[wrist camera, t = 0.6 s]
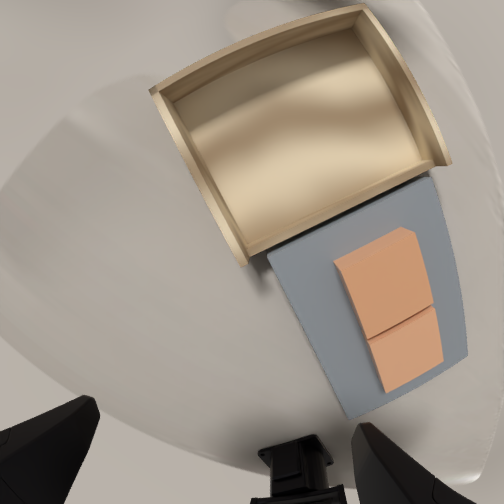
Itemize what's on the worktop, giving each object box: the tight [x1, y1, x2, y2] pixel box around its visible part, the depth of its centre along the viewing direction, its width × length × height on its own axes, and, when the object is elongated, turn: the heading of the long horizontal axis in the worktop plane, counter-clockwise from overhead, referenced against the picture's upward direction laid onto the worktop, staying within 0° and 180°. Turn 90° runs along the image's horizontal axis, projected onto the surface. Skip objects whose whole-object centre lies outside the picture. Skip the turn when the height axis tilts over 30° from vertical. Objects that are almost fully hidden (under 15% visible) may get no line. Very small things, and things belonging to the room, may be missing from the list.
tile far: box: [361, 305, 444, 393], centre depth 18 cm, size 5×5×2 cm
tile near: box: [333, 227, 434, 339], centre depth 17 cm, size 5×5×2 cm
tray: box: [149, 3, 452, 267], centre depth 16 cm, size 12×15×4 cm
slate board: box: [267, 177, 468, 420], centre depth 19 cm, size 16×12×2 cm
